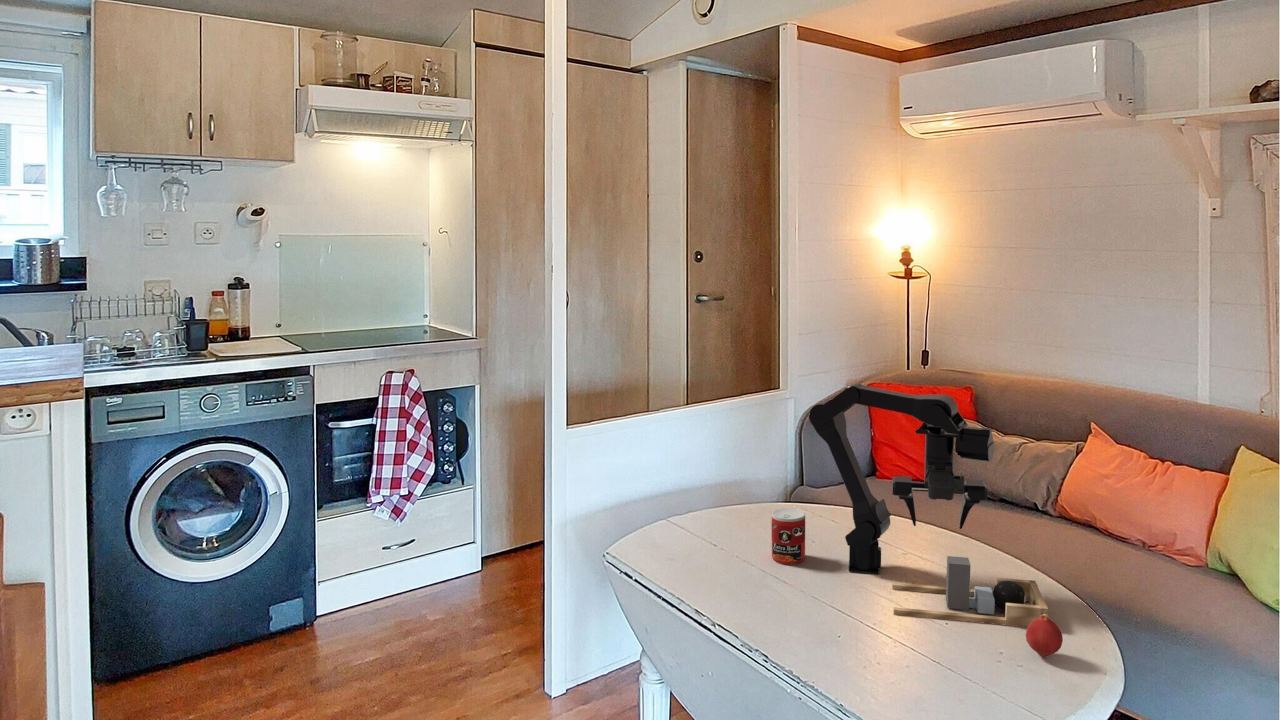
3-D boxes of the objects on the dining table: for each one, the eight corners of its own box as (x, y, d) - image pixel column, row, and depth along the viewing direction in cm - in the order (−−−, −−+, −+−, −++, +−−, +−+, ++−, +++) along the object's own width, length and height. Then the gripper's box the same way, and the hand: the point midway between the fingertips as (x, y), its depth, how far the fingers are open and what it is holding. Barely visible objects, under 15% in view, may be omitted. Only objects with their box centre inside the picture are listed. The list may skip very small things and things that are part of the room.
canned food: (768, 563, 191) (768, 517, 190) (775, 550, 198) (775, 506, 197) (801, 567, 188) (801, 520, 187) (808, 554, 196) (808, 509, 194)
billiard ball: (1023, 620, 160) (1024, 590, 159) (989, 613, 163) (991, 584, 162) (1026, 607, 165) (1027, 579, 164) (993, 602, 168) (994, 573, 167)
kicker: (947, 610, 164) (949, 565, 163) (945, 597, 170) (946, 554, 169) (994, 614, 162) (995, 569, 161) (990, 601, 168) (991, 557, 166)
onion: (1028, 645, 150) (1030, 603, 149) (1063, 653, 147) (1066, 611, 146) (1022, 659, 145) (1024, 616, 144) (1058, 668, 142) (1061, 624, 141)
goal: (1005, 625, 158) (1006, 605, 157) (996, 596, 171) (996, 577, 170) (1047, 629, 156) (1048, 609, 156) (1034, 599, 169) (1035, 580, 168)
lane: (893, 614, 164) (893, 609, 163) (892, 587, 176) (892, 582, 176) (1005, 625, 158) (1006, 620, 158) (996, 596, 171) (996, 591, 171)
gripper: (893, 463, 169) (892, 536, 171) (992, 468, 164) (989, 543, 166) (892, 449, 179) (891, 519, 182) (985, 453, 174) (982, 525, 177)
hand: (937, 526), depth 176 cm, fingers open, 9 cm apart
